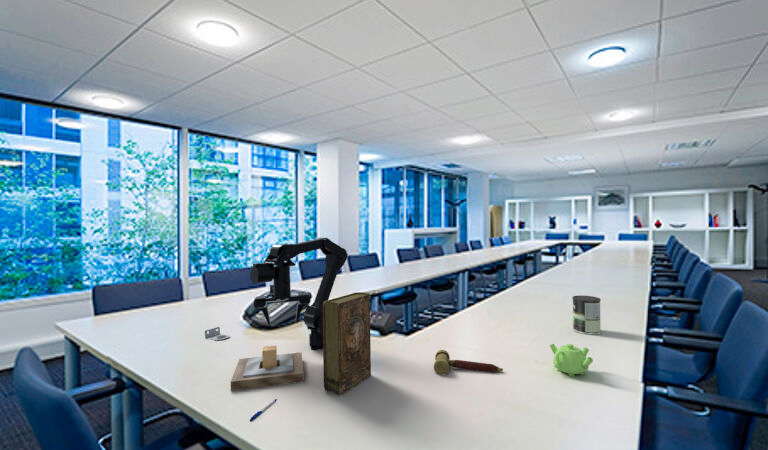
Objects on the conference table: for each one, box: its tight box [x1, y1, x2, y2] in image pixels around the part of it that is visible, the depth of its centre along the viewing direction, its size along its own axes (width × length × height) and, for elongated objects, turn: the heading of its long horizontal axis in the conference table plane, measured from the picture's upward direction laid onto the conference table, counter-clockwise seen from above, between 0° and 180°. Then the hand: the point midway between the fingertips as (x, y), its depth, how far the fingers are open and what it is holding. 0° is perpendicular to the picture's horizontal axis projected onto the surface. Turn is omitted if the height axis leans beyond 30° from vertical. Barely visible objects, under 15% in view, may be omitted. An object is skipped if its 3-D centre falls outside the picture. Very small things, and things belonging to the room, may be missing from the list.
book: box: [322, 291, 372, 396], centre depth 103 cm, size 16×6×25 cm, turn 148°
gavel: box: [433, 349, 504, 375], centre depth 111 cm, size 21×5×10 cm
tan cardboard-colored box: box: [261, 345, 278, 368], centre depth 111 cm, size 4×4×8 cm
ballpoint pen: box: [249, 398, 277, 422], centre depth 89 cm, size 10×1×1 cm, turn 165°
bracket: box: [204, 326, 231, 341], centre depth 149 cm, size 7×10×4 cm, turn 57°
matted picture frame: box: [230, 352, 305, 392], centre depth 111 cm, size 20×18×3 cm
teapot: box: [549, 343, 594, 378], centre depth 109 cm, size 11×12×8 cm
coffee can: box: [572, 295, 602, 336], centre depth 149 cm, size 10×10×14 cm
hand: (283, 324), depth 124 cm, fingers open, 9 cm apart
